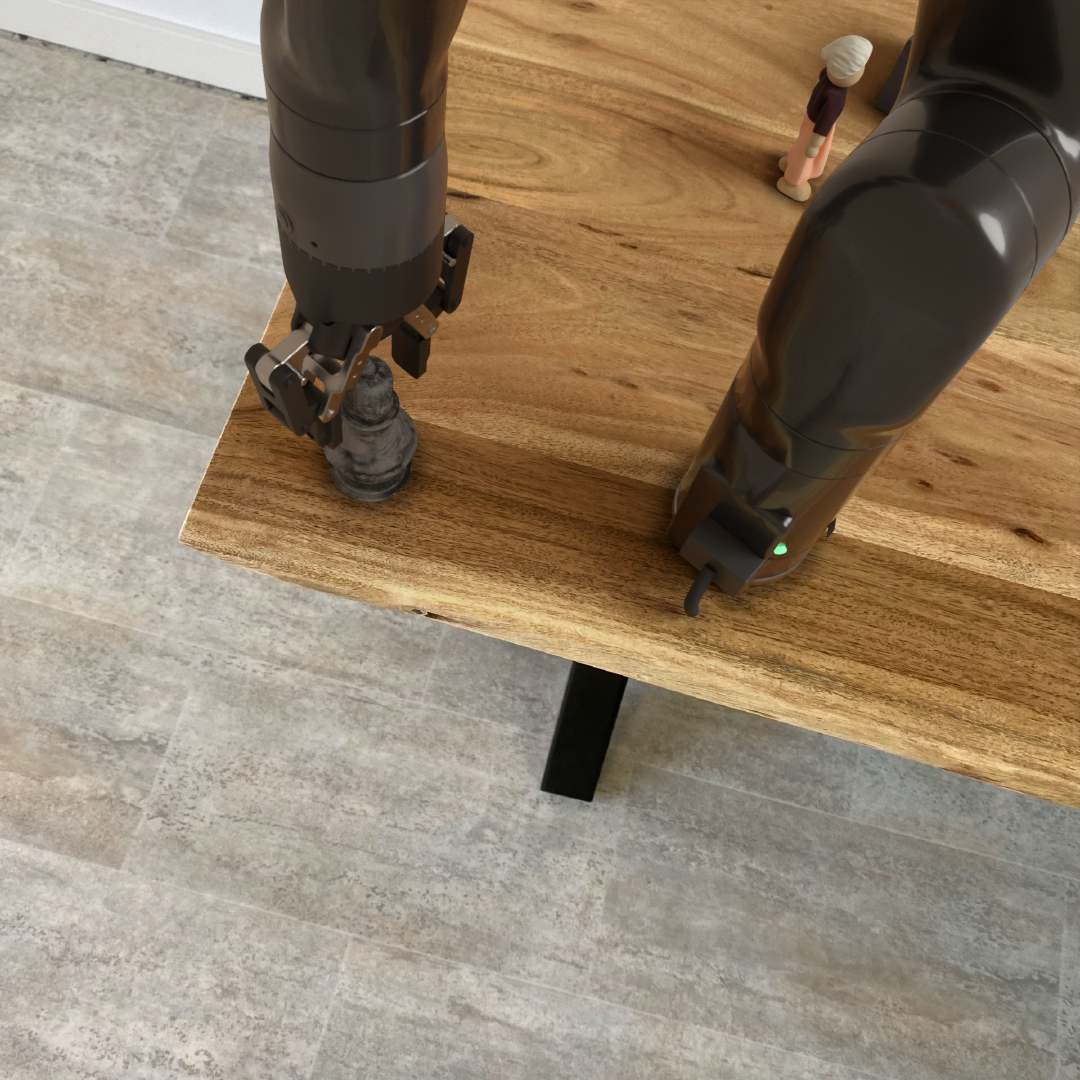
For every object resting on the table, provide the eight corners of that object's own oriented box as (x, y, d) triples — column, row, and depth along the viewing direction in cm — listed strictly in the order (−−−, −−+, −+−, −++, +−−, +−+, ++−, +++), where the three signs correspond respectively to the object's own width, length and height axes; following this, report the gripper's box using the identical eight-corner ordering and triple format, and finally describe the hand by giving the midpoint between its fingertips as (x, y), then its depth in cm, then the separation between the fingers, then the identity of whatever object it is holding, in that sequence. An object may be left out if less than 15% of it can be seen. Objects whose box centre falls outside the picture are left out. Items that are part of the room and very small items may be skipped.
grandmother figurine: (823, 213, 84) (891, 82, 72) (775, 208, 83) (836, 75, 72) (814, 140, 87) (878, 3, 76) (768, 135, 87) (825, -4, 75)
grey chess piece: (403, 515, 68) (405, 415, 58) (312, 494, 68) (297, 389, 57) (426, 438, 71) (432, 328, 60) (339, 417, 71) (329, 303, 60)
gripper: (300, 340, 44) (323, 521, 59) (531, 161, 50) (498, 367, 65) (175, 234, 46) (228, 437, 61) (412, 72, 51) (408, 294, 66)
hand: (368, 400), depth 63 cm, fingers open, 6 cm apart
